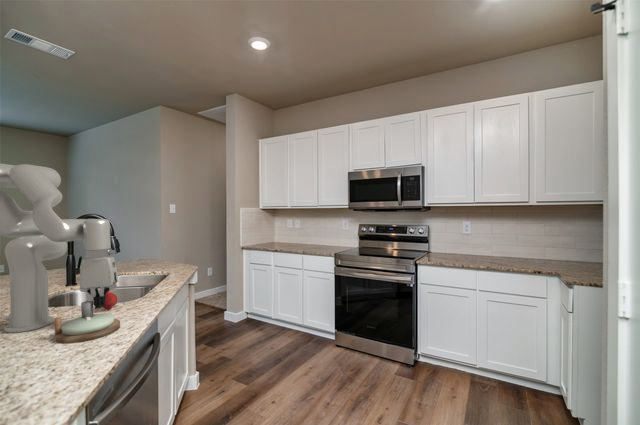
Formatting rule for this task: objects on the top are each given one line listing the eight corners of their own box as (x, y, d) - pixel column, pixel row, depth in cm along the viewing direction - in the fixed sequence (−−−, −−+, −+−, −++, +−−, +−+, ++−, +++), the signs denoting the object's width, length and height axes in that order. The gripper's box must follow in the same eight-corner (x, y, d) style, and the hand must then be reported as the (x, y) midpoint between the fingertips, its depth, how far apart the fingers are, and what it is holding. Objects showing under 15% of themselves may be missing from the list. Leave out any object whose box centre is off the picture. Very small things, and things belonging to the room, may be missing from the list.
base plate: (39, 342, 91) (39, 321, 91) (89, 321, 108) (88, 303, 108) (89, 344, 89) (89, 322, 89) (132, 323, 106) (131, 304, 106)
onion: (108, 312, 117) (107, 292, 117) (96, 312, 118) (95, 292, 118) (120, 308, 123) (120, 288, 123) (109, 307, 124) (108, 288, 124)
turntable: (117, 326, 98) (116, 305, 98) (62, 339, 89) (62, 315, 89) (110, 316, 108) (110, 297, 108) (61, 326, 99) (60, 305, 99)
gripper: (126, 251, 109) (128, 301, 109) (78, 254, 105) (80, 306, 105) (117, 254, 101) (119, 308, 101) (66, 257, 98) (68, 313, 98)
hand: (99, 307), depth 103 cm, fingers closed
